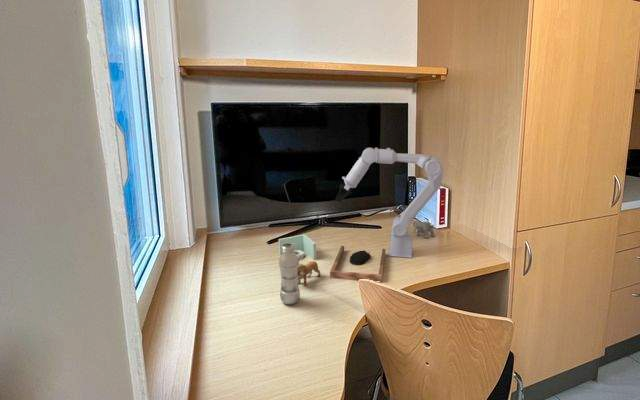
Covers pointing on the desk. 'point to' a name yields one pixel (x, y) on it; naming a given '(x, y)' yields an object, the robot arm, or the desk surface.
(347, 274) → the u-shaped frame
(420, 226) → the gray elephant figurine
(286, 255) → the plastic bottle
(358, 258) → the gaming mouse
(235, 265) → the desk surface
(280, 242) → the l-shaped corner panel
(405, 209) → the robot arm
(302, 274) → the lion figurine
